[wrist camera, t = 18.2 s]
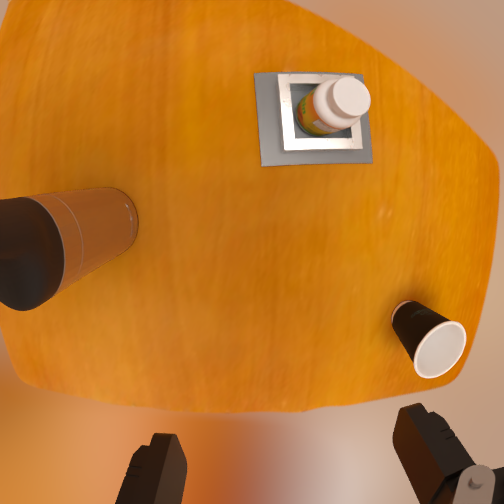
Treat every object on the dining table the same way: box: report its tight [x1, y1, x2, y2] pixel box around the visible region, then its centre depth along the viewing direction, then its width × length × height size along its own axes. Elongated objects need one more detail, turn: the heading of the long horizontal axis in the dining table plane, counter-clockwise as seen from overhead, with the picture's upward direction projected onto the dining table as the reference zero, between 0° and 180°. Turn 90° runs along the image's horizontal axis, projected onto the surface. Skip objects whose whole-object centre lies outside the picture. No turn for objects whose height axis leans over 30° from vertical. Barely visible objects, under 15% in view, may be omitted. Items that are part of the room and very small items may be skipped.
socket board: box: [254, 72, 373, 167], centre depth 33 cm, size 14×12×4 cm
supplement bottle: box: [295, 77, 371, 136], centre depth 29 cm, size 5×5×10 cm
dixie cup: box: [391, 301, 466, 378], centre depth 35 cm, size 8×8×11 cm
